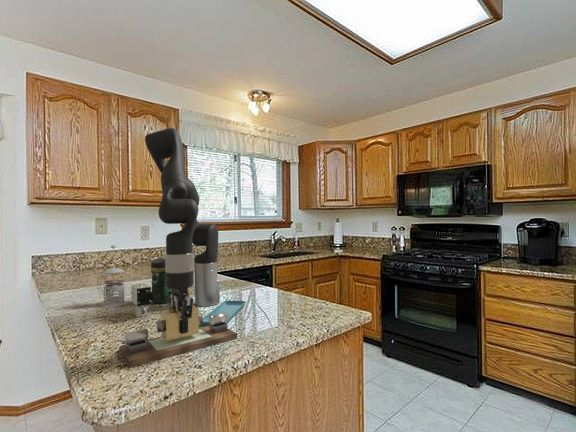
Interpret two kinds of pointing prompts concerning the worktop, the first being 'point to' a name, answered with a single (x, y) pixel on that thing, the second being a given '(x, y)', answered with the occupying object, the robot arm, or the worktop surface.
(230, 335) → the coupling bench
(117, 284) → the french press
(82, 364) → the worktop surface
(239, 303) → the rectangular tray
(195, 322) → the coupling block
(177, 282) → the robot arm
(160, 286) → the coffee jar
